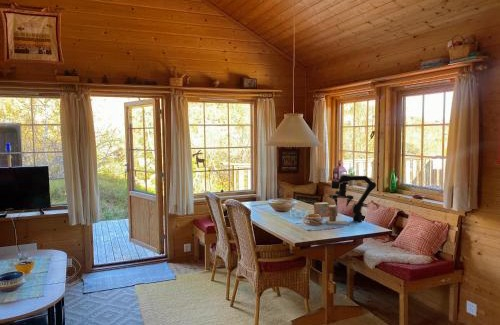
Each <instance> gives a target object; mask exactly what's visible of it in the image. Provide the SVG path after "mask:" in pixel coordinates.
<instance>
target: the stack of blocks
mask: <svg viewBox="0 0 500 325" xmlns="http://www.w3.org/2000/svg"><path fill="white" fill-rule="evenodd" d="M313 205H314V206H313V215H314V214H319V215H321V216H322V217H329V215H330V207H334V208H336V217H337V216H338V212H339V211H338V210H339V209H338V205H337V206H336V204H330V203H329V202H325V201H324V202H314V203H313Z"/></svg>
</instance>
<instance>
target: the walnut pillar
mask: <svg viewBox="0 0 500 325" xmlns="http://www.w3.org/2000/svg"><path fill="white" fill-rule="evenodd" d="M328 218H329V219H328V220H329V221H335V222H336V220H337V216H336V208H334V207H330V215H329V216H328Z"/></svg>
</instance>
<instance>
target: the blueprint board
mask: <svg viewBox="0 0 500 325" xmlns="http://www.w3.org/2000/svg"><path fill="white" fill-rule="evenodd" d="M325 223H326V224H327V226H350V223H349V222H347V221H346V220H337V219H336V222H335V221H329V219H326V220H325Z"/></svg>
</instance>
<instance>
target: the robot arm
mask: <svg viewBox="0 0 500 325" xmlns="http://www.w3.org/2000/svg"><path fill="white" fill-rule="evenodd" d="M351 181H364V182H366V183H367V185H366V189H365V190H364V192H363V193H362V195H361V196H360V198H359V199H358V200H357V202H354V203H353V204H352V206H351V211H352V213H353V215H352V221H353V222H355V223H363V221H362V218H363V217H362V216H363V213H362V212H361V209H362V206H363V204H364V202H365V201H366V199H367V197H368V196H369V194H370V193H371V192H372V191H373V190H374V189H375V188H376V187H377V184H376V182H375V181H373V180H371V179H370V178H369V177H368V176H366V175H347V174H341V175H340V177H339V179H337V181H336V180H332V181H331V183H330V184H331V185H330V188H331V189H334V190H335V189H336V190H335V194H331V195H330V198H331V199H333V200H334V203H335V204H334V205H336V206H338V199H346V202H345V203H346V204H345V207H346V208H347V207H348V206H349V203H350V202H351V201H352V200H354V196H353V195H352V194H347V185H349V182H351ZM346 194H347V195H346Z"/></svg>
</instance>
